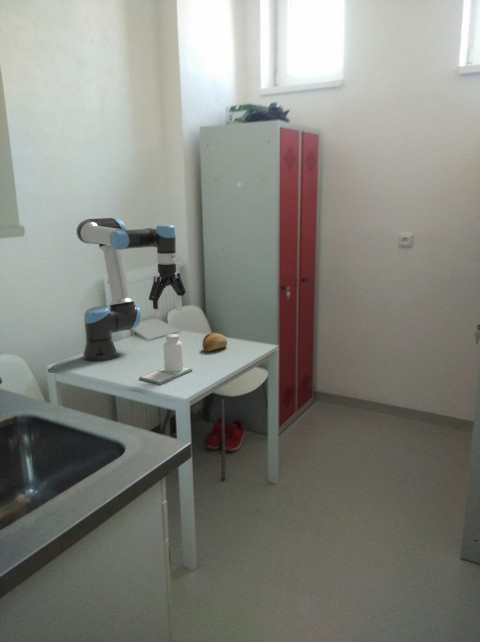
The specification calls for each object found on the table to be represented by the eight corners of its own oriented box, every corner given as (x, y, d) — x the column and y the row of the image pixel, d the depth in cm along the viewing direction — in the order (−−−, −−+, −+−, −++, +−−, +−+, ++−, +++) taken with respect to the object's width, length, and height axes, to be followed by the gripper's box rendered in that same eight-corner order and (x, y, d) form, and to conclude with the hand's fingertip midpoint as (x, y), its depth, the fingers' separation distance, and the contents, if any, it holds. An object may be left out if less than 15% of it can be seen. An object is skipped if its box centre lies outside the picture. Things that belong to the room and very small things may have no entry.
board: (138, 379, 208) (138, 376, 208) (171, 366, 225) (171, 363, 224) (160, 384, 202) (160, 382, 202) (192, 371, 218) (192, 368, 218)
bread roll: (197, 351, 247) (196, 335, 245) (217, 344, 259) (216, 329, 257) (211, 354, 241) (211, 338, 240) (231, 347, 253) (231, 332, 251)
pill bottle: (174, 365, 222) (173, 332, 219) (187, 368, 217) (186, 335, 214) (160, 369, 216) (159, 335, 213) (173, 373, 211) (172, 339, 208)
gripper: (152, 267, 197) (154, 320, 202) (193, 260, 217) (193, 309, 222) (138, 265, 201) (140, 317, 206) (179, 259, 221) (180, 306, 226)
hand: (168, 313), depth 214 cm, fingers open, 13 cm apart
